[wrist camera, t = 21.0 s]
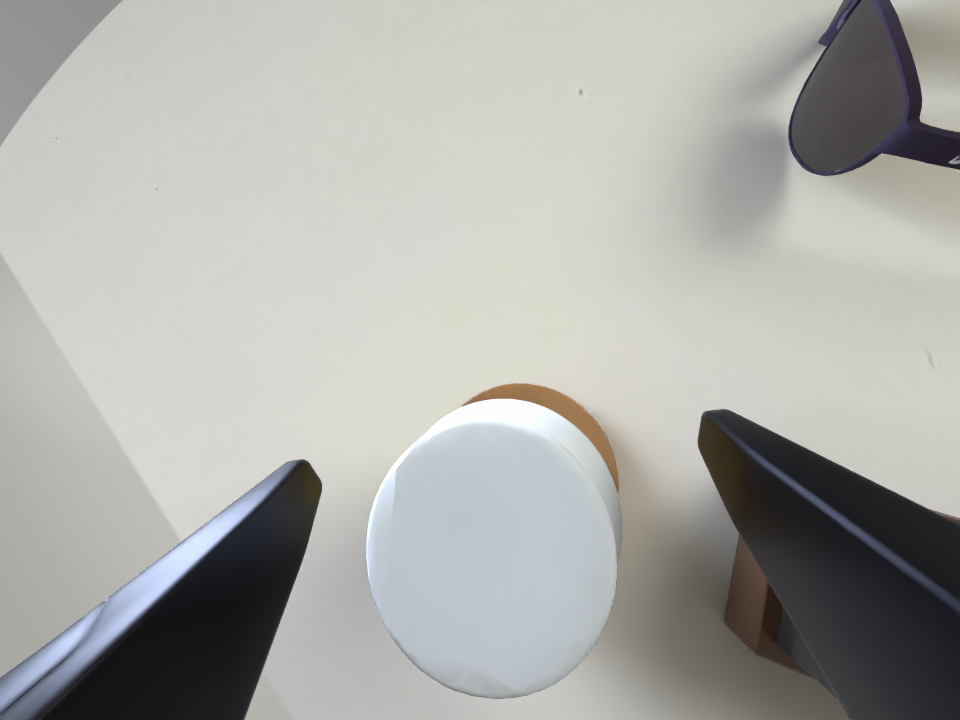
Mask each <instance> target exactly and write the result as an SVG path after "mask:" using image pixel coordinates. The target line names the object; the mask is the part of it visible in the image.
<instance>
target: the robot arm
mask: <svg viewBox="0 0 960 720" xmlns="http://www.w3.org/2000/svg"><path fill="white" fill-rule="evenodd" d="M698 447H699V450H700V453H701V455H702V457H703V459H704V462H705V464H706V466H707V468H708V470H709V472H710V475H711V477H712V479H713V481H714V483H715V485H716V488H717V490H718V492H719V494H720V496H721V498H722V500H723V503H724V505H725V507H726V509H727V511H728V513H729V515H730V517H731V519H732V521H733V523H734V525H735V527H736V529H737V530H738V532H739V534H740V536H741V537H742V539H743V541H744V542H745V544H746V546H747V547H748V549H749V551H750V552H751V554H752V556H753V557H754V559H755V561H756V562H757V564H758V566H759V567H760V569H761V571H762V572H763V574H764V576H765V577H766V579H767V581H768V582H769V584H770V586H771V587H772V589H773V591H774V593H775V594H776V596H777V598H778V599H779V601H780V603H781V604H782V606H783V608H784V609H785V611H786V613H787V614H788V616H789V618H790V619H791V621H792V623H793V624H794V626H795V628H796V629H797V631H798V633H799V634H800V636H801V638H802V639H803V641H804V643H805V644H806V646H807V648H808V649H809V651H810V653H811V654H812V656H813V658H814V660H815V661H816V663H817V665H818V666H819V668H820V670H821V671H822V673H823V675H824V676H825V678H826V680H827V681H828V683H829V685H830V686H831V688H832V690H833V691H834V693H835V695H836V696H837V698H838V700H839V701H840V703H841V705H842V706H843V708H844V710H845V711H846V713H847V715H848V716H849V718H850V720H960V525H959V524H957V523H955V522H953V521H951V520H949V519H947V518H945V517H943V516H941V515H939V514H937V513H935V512H933V511H931V510H929V509H927V508H925V507H923V506H921V505H919V504H917V503H915V502H913V501H911V500H909V499H907V498H905V497H903V496H901V495H899V494H897V493H895V492H893V491H891V490H889V489H887V488H885V487H883V486H881V485H879V484H877V483H875V482H873V481H871V480H869V479H867V478H865V477H863V476H861V475H859V474H857V473H855V472H853V471H851V470H849V469H847V468H845V467H843V466H841V465H839V464H837V463H835V462H832V461H830V460H828V459H826V458H824V457H822V456H820V455H818V454H816V453H814V452H812V451H810V450H808V449H806V448H804V447H802V446H800V445H798V444H796V443H794V442H792V441H790V440H788V439H786V438H784V437H782V436H780V435H778V434H776V433H774V432H772V431H770V430H768V429H766V428H764V427H762V426H760V425H758V424H756V423H754V422H752V421H750V420H748V419H746V418H744V417H742V416H740V415H738V414H736V413H734V412H732V411H729V410H726V409H720V410H712V411H706V412H704V413H703V414H702V417H701V423H700V429H699V435H698ZM321 492H322V483H321V480H320V478H319V477H318V475H317V474H316V472H315V471H314V469H313V468H312V466H311V465H310V463H309V462H308V461H306V460H303V459H302V460H293V461H289V462H287V463H285V464H284V465H282V466H281V467H280V468H278V469H277V470H276V471H274V472H273V473H272V474H271V475H269V476H268V477H267V478H265V479H264V480H263V481H261V482H260V483H259V484H257V485H256V486H255V487H253V488H252V489H251V490H249V491H248V492H247V493H246V494H244V495H243V496H242V497H240V498H239V499H238V500H236V501H235V502H234V503H232V504H231V505H230V506H228V507H227V508H226V509H224V510H223V511H222V512H221V513H219V514H218V515H217V516H215V517H214V518H213V519H211V520H210V521H209V522H207V523H206V524H205V525H203V526H202V527H201V528H199V529H198V530H197V531H196V532H194V533H193V534H192V535H190V536H189V537H188V538H186V539H185V540H184V541H182V542H181V543H180V544H178V545H177V546H176V547H174V548H173V549H172V550H171V551H169V552H168V553H167V554H165V555H164V556H163V557H161V558H160V559H159V560H157V561H156V562H155V563H153V564H152V565H151V566H149V567H148V568H147V569H146V570H144V571H143V572H142V573H140V574H139V575H138V576H136V577H135V578H134V579H133V580H131V581H130V582H128V583H127V584H126V585H125V586H123V587H122V588H121V589H119V590H118V591H117V592H115V593H114V594H113V595H111V596H110V597H109V598H108V600H107V601H104V602H102V603H101V604H99V605H98V606H97V607H95V608H94V609H93V610H91V611H90V612H89V613H88V614H86V615H85V616H84V617H82V618H81V619H80V620H78V621H77V622H76V623H74V624H73V625H72V626H70V627H69V628H68V629H66V630H65V631H64V632H62V633H61V634H60V635H58V636H57V637H56V638H54V639H53V640H52V641H50V642H49V643H47V644H46V645H45V646H43V647H42V648H41V649H39V650H38V651H37V652H35V653H34V654H33V655H31V656H30V657H28V658H27V659H26V660H24V661H23V662H22V663H20V664H19V665H17V666H16V667H15V668H13V669H12V670H10V671H9V672H8V673H6V674H5V675H3V676H2V677H1V678H0V720H244V719H245V716H246V713H247V711H248V708H249V705H250V703H251V700H252V697H253V694H254V692H255V689H256V686H257V683H258V681H259V678H260V675H261V673H262V670H263V667H264V664H265V662H266V659H267V656H268V654H269V651H270V648H271V645H272V643H273V640H274V637H275V634H276V632H277V629H278V626H279V624H280V621H281V618H282V615H283V613H284V610H285V607H286V604H287V602H288V599H289V596H290V593H291V591H292V588H293V585H294V583H295V580H296V577H297V574H298V572H299V569H300V566H301V563H302V560H303V558H304V555H305V551H306V548H307V544H308V541H309V537H310V533H311V530H312V526H313V522H314V518H315V515H316V511H317V507H318V503H319V500H320V496H321Z"/></svg>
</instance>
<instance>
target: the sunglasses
mask: <svg viewBox="0 0 960 720" xmlns="http://www.w3.org/2000/svg"><path fill="white" fill-rule="evenodd" d="M819 44H822V45H824V46H827V47H826V48H825V50H824V51H823V53H822V55H821V56H820V58H819V60H818V62H817V63H816V65H815V67H814V68H813V70H812V72H811V73H810V75H809V77H808V78H807V80H806V82H805V84H804V86H803V88H802V90H801V92H800V95H799V97H798V99H797V101H796V104H795V106H794V109H793V112H792V115H791V119H790V123H789V132H788V138H789V145H790V149H791V151H792V154H793V156H794V157H795V159H796V160H797V162H798V163H799V164H800V165H801V166H802V167H803V168H804V169H806V170H807V171H809V172H811V173H813V174H817V175H823V176H830V175H838V174H842V173H846V172H849V171H852V170H854V169H856V168H859V167H861V166H863V165H865V164H866V163H868V162H870V161H871V160H873V159H874V158H876V157H877V156H878V155H880V154H881V153H884V154H890V155H895V156H899V157H904V158H908V159H913V160H917V161H921V162H924V163H929V164H934V165H939V166H944V167H949V168H954V169H959V170H960V133H959V132H954V131H949V130H944V129H940V128H936V127H932V126H929V125H926V124H924V123H921V122H920V119H919V117H920V112H921V108H922V95H921V88H920V83H919V79H918V75H917V71H916V67H915V64H914V60H913V57H912V54H911V51H910V48H909V45H908V43H907V40H906V37H905V35H904V32H903V29H902V26H901V24H900V21H899V18H898V15H897V13H896V11H895V9H894V7H893V6H892V4H891V1H890V0H844V1H843V2H842V4H841V6H840V8H839V10H838V11H837V13H836V15H835V17H834V19H833V21H832V23H831V24H830V26H829V28H828V30H827V31H826V32H825V33H824V34H823V36H822V37H821V39H820V40H819ZM842 168H843V169H842ZM840 169H841V170H840ZM837 170H839V171H837Z"/></svg>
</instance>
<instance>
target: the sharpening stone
mask: <svg viewBox="0 0 960 720" xmlns="http://www.w3.org/2000/svg"><path fill="white" fill-rule="evenodd" d="M929 510H930V509H929ZM931 511H933V510H931ZM933 512H935V513H937V514H939V515H941V516H943V517H945V518H947V519H949V520H951V521H953V522H955V523H957V524H959V525H960V518H957V517H953V516H950V515H947V514H943V513H940V512H937V511H933ZM724 623H725V624H726V625H727V626H728V627H729V628H730V629H731V630H732V631H733V632H734V633H735V634H736V635H737V636H738V637H739V638H740V639H741V640H742V641H743V642H744V643H745V644H746V645H747V646H748V647H749V648H750V649H751V650H752V651H753V652H754V653H755V654H756V655H758V656H760V657H762V658H765V659H767V660H770V661H772V662H774V663H777V664H779V665H782V666H784V667H786V668H789V669H791V670H794V671H796V672H798V673H801V674H803V675H806V676H808V677H810V678H813V679H815V680H817V681H818V682H819V683H820V684H822V685H823V686H824V687H825V688H826V689H827V690H828V691H830V692H831V693H832V694H833V695H834V696H835V697H836V698H837V696H836V695H835V693H834V691H833V690H832V688H831V686H830V685H829V683H828V681H827V680H826V678H825V676H824V675H823V673H822V671H821V670H820V668H819V666H818V665H817V663H816V661H815V660H814V658H813V656H812V654H811V653H810V651H809V649H808V648H807V646H806V644H805V643H804V641H803V639H802V638H801V636H800V634H799V633H798V631H797V629H796V628H795V626H794V624H793V623H792V621H791V619H790V618H789V616H788V614H787V613H786V611H785V609H784V608H783V606H782V604H781V603H780V601H779V599H778V598H777V596H776V594H775V593H774V591H773V589H772V587H771V586H770V584H769V582H768V581H767V579H766V577H765V576H764V574H763V572H762V571H761V569H760V567H759V566H758V564H757V562H756V561H755V559H754V557H753V556H752V554H751V552H750V551H749V549H748V547H747V546H746V544H745V542H744V541H743V539H742V537H741V536H740V534H739V539H738V545H737V551H736V557H735V562H734V568H733V574H732V579H731V585H730V591H729V597H728V602H727V608H726V614H725V619H724Z"/></svg>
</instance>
